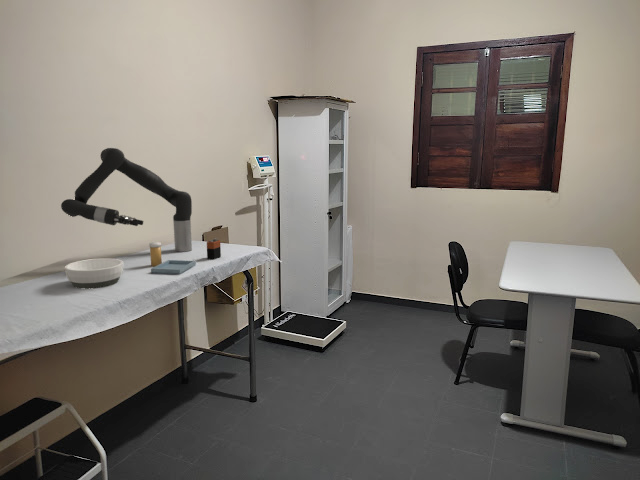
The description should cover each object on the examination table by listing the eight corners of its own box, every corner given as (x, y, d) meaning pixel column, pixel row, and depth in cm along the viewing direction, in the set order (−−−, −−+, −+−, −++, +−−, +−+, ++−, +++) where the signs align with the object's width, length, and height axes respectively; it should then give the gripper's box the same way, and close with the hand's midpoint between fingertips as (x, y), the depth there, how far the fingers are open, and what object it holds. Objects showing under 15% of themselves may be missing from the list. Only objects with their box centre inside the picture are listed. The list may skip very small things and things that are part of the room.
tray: (168, 264, 236) (168, 259, 236) (195, 265, 234) (195, 260, 234) (151, 273, 219) (150, 268, 219) (180, 274, 217) (179, 269, 217)
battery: (221, 257, 253) (220, 238, 251) (213, 259, 247) (213, 240, 245) (214, 256, 255) (213, 237, 253) (206, 259, 248) (206, 240, 246)
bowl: (102, 292, 189) (101, 272, 188) (53, 289, 194) (51, 269, 192) (135, 278, 211) (134, 259, 210) (90, 275, 216) (88, 257, 214)
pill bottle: (153, 263, 237) (152, 242, 235) (164, 264, 236) (163, 242, 234) (148, 266, 232) (147, 244, 230) (159, 266, 231) (157, 244, 229)
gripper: (102, 208, 222) (137, 216, 224) (113, 207, 236) (146, 215, 238) (99, 224, 223) (134, 232, 225) (110, 222, 237) (143, 230, 239)
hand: (140, 223), depth 231 cm, fingers open, 8 cm apart
